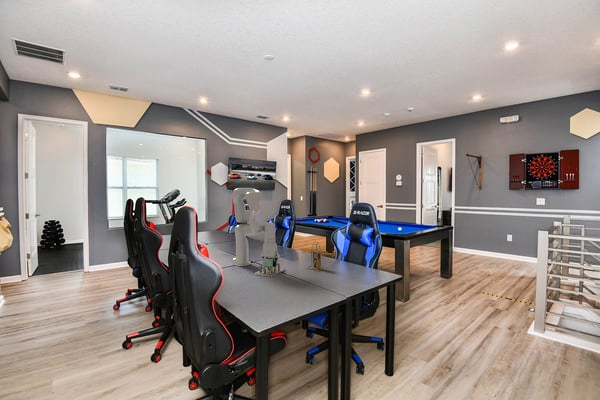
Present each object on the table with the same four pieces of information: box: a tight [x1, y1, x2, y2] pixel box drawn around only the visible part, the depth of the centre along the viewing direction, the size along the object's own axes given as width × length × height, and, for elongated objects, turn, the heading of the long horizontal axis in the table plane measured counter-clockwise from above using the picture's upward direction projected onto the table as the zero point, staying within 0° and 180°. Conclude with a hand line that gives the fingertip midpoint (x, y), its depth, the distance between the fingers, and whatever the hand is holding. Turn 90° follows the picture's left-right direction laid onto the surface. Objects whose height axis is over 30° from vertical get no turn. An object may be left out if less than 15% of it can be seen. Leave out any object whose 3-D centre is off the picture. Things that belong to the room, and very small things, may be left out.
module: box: [262, 257, 279, 267], centre depth 204 cm, size 12×6×6 cm, turn 160°
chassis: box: [254, 262, 286, 278], centre depth 204 cm, size 18×14×6 cm
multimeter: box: [309, 241, 324, 272], centre depth 211 cm, size 15×10×20 cm
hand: (270, 265), depth 204 cm, fingers closed on module, 6 cm apart
